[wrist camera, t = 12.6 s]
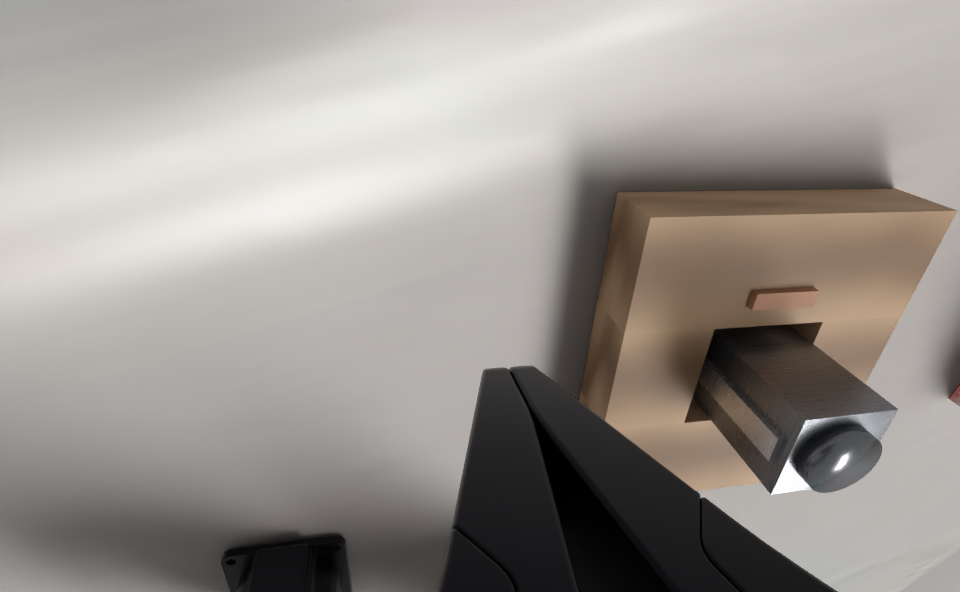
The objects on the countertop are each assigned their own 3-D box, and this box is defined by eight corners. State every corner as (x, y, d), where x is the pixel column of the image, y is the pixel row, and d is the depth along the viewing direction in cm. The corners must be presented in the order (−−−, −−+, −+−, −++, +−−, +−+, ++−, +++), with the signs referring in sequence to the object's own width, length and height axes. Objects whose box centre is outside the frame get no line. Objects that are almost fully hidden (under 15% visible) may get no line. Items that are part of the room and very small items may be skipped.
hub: (780, 437, 32) (819, 479, 29) (567, 461, 29) (588, 509, 26) (895, 188, 24) (964, 213, 21) (617, 191, 21) (654, 220, 19)
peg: (760, 303, 26) (912, 420, 19) (738, 365, 28) (867, 494, 21) (684, 308, 25) (812, 432, 18) (667, 372, 27) (775, 508, 20)
